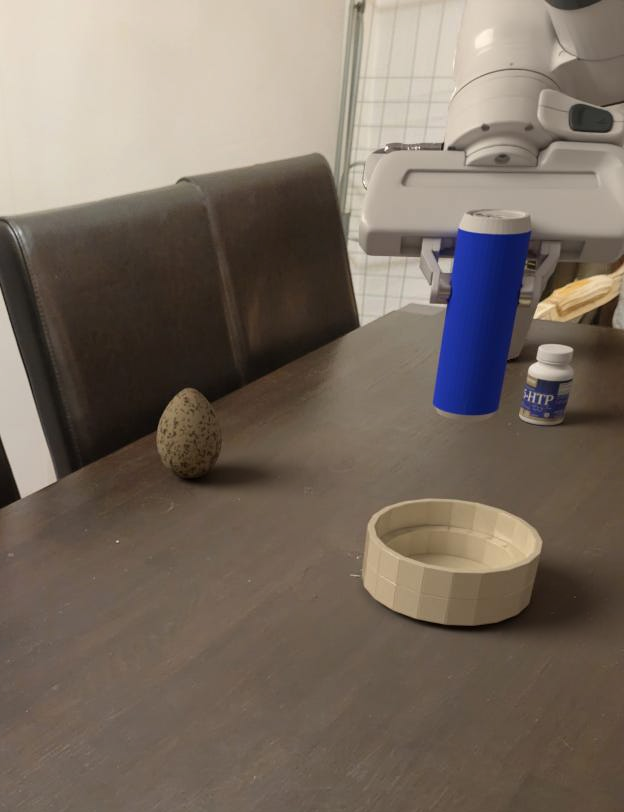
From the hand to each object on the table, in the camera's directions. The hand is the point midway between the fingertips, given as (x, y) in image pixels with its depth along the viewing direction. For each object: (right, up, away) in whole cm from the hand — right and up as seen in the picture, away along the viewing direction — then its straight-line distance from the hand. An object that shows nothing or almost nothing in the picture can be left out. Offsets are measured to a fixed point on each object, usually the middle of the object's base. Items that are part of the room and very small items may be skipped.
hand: (483, 302), depth 73 cm
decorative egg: (-21, -8, +34) cm, 41 cm away
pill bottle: (+24, +2, +47) cm, 53 cm away
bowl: (+1, -21, +11) cm, 24 cm away
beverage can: (0, -7, +5) cm, 9 cm away
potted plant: (+26, +17, +72) cm, 78 cm away
